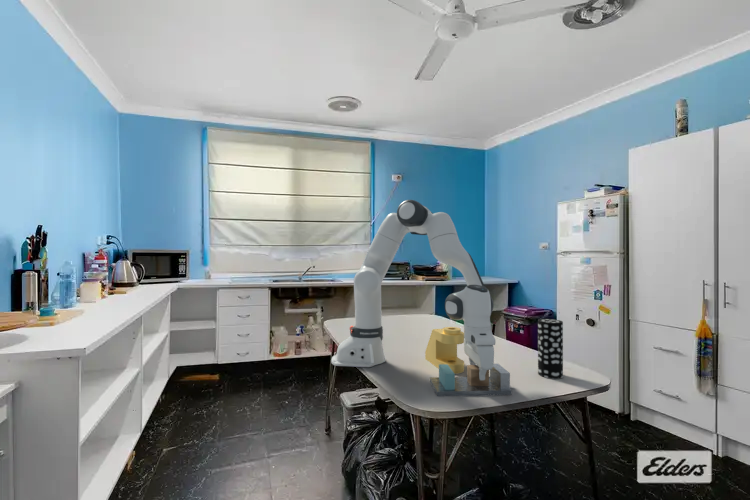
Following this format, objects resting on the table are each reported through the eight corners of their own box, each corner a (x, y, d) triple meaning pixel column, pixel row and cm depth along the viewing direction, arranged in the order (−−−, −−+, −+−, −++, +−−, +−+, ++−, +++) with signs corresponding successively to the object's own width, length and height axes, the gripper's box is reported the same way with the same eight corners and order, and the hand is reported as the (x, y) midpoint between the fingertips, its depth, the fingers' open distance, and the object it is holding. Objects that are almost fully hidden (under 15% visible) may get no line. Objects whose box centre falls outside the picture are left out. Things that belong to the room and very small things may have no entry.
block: (471, 385, 122) (471, 369, 122) (467, 381, 127) (467, 365, 127) (489, 385, 123) (489, 369, 123) (484, 380, 127) (484, 364, 127)
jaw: (445, 389, 119) (445, 374, 119) (438, 378, 129) (438, 364, 129) (454, 389, 119) (454, 374, 119) (447, 378, 129) (447, 364, 129)
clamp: (468, 372, 140) (468, 330, 140) (446, 375, 138) (446, 332, 138) (445, 357, 160) (445, 320, 160) (425, 359, 157) (425, 321, 157)
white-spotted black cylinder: (543, 369, 143) (543, 318, 143) (566, 374, 137) (566, 320, 137) (534, 374, 137) (534, 321, 137) (558, 380, 132) (557, 324, 132)
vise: (437, 396, 118) (437, 375, 118) (429, 381, 131) (429, 363, 131) (511, 394, 119) (511, 374, 119) (496, 380, 132) (496, 362, 132)
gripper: (459, 327, 135) (459, 365, 135) (477, 341, 115) (477, 386, 115) (476, 327, 135) (476, 365, 135) (497, 341, 115) (497, 385, 115)
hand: (477, 374), depth 125 cm, fingers open, 8 cm apart
